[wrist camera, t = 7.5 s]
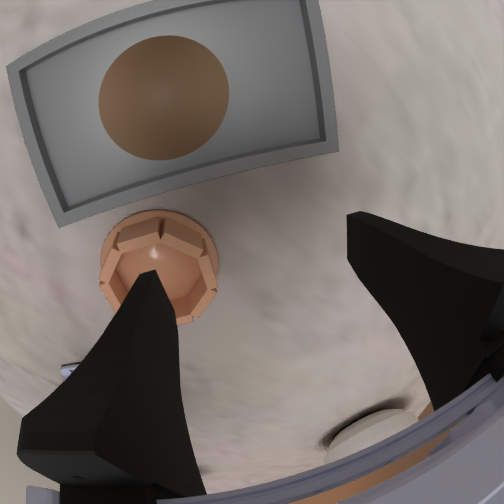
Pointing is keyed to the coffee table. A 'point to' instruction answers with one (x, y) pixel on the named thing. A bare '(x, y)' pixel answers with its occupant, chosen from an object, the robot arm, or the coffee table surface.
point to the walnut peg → (163, 97)
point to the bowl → (368, 432)
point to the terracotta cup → (161, 260)
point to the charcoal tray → (225, 138)
